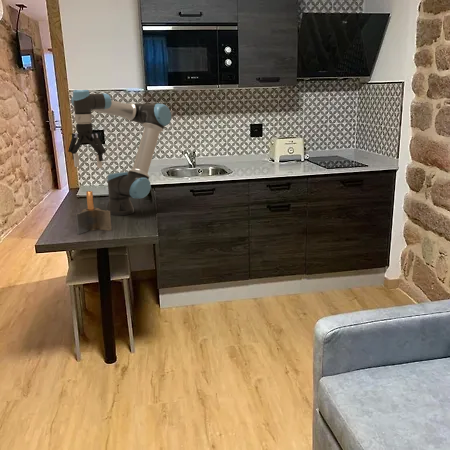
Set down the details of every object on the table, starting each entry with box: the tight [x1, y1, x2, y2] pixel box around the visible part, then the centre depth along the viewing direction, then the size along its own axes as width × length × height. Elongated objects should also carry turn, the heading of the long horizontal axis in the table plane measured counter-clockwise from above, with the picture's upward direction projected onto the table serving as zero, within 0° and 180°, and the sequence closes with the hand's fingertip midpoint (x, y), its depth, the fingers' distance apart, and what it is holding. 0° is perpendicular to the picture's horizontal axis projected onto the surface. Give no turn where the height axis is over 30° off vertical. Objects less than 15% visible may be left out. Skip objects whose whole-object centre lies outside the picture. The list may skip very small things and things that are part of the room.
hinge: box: [75, 207, 112, 235], centre depth 232 cm, size 14×14×10 cm
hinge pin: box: [85, 190, 95, 211], centre depth 236 cm, size 3×3×19 cm
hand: (88, 167), depth 231 cm, fingers open, 13 cm apart
